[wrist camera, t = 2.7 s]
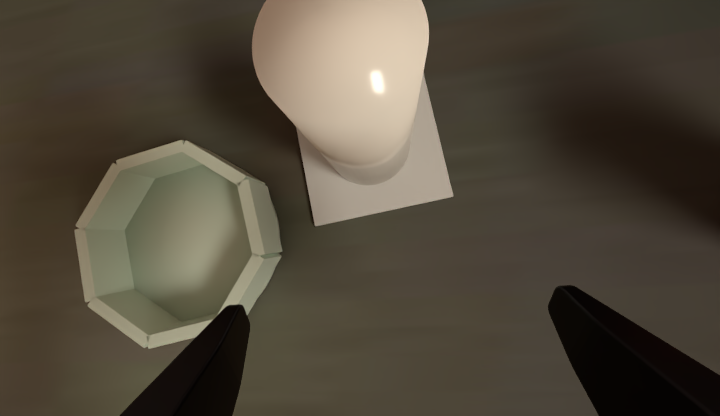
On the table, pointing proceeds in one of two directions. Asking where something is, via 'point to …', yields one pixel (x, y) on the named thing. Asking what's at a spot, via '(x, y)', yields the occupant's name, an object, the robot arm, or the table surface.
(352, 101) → the white cylinder
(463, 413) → the table surface
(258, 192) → the bowl
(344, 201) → the mat
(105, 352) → the table surface
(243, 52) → the table surface
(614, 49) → the table surface
